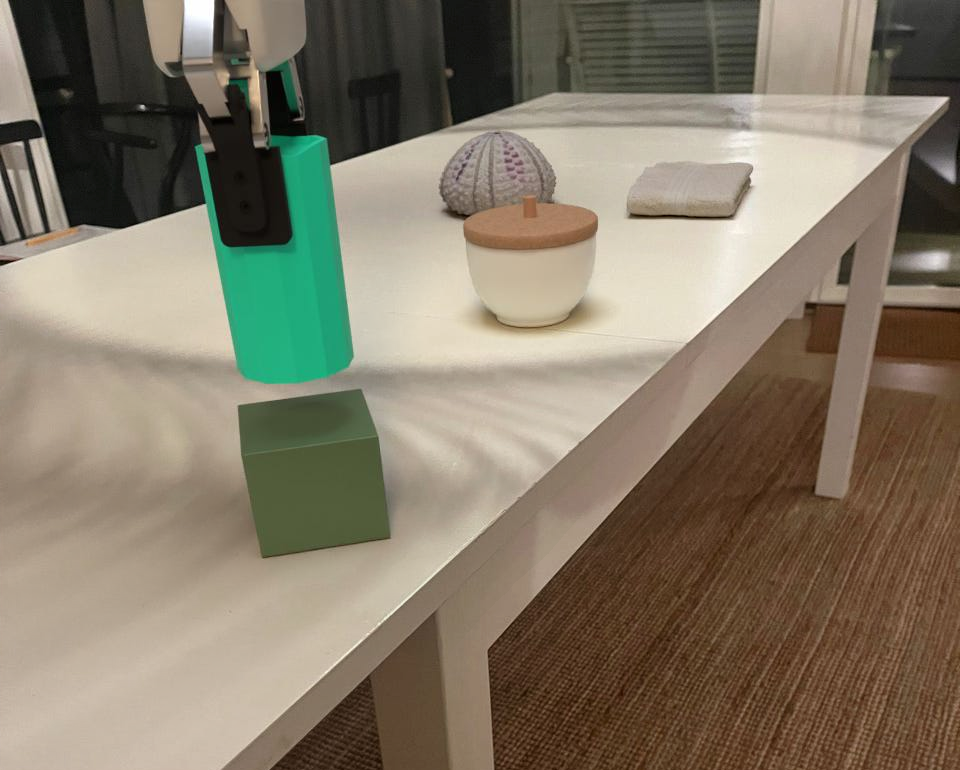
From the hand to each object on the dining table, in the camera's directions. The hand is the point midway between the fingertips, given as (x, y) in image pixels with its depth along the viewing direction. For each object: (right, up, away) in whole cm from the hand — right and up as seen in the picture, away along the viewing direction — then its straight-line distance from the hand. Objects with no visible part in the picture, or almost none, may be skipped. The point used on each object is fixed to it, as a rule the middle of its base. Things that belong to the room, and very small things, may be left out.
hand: (272, 222), depth 50 cm
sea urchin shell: (+12, +30, +70) cm, 77 cm away
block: (+1, -13, +9) cm, 16 cm away
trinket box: (+14, +7, +37) cm, 40 cm away
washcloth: (+34, +30, +68) cm, 82 cm away
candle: (0, -6, +4) cm, 7 cm away
